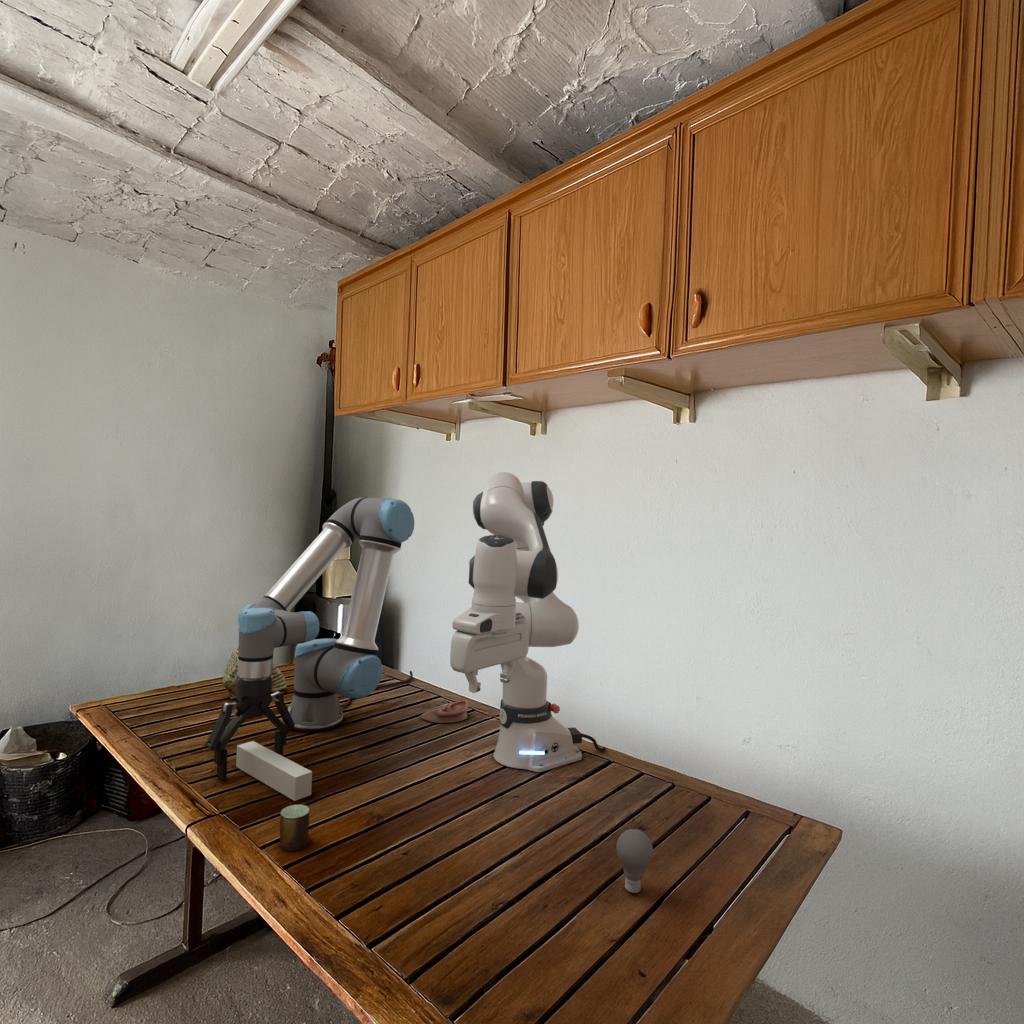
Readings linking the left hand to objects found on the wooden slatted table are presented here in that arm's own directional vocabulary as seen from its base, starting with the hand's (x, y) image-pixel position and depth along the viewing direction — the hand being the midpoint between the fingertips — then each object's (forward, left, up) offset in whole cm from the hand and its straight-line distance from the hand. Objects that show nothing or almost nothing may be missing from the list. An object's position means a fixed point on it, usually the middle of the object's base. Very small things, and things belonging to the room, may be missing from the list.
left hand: (250, 768), depth 145 cm
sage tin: (+11, +35, 0) cm, 36 cm away
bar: (0, +9, 0) cm, 9 cm away
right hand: (-19, +55, +27) cm, 64 cm away
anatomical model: (-56, +7, 0) cm, 57 cm away
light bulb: (-19, +88, 0) cm, 90 cm away
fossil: (-28, -49, 0) cm, 56 cm away
